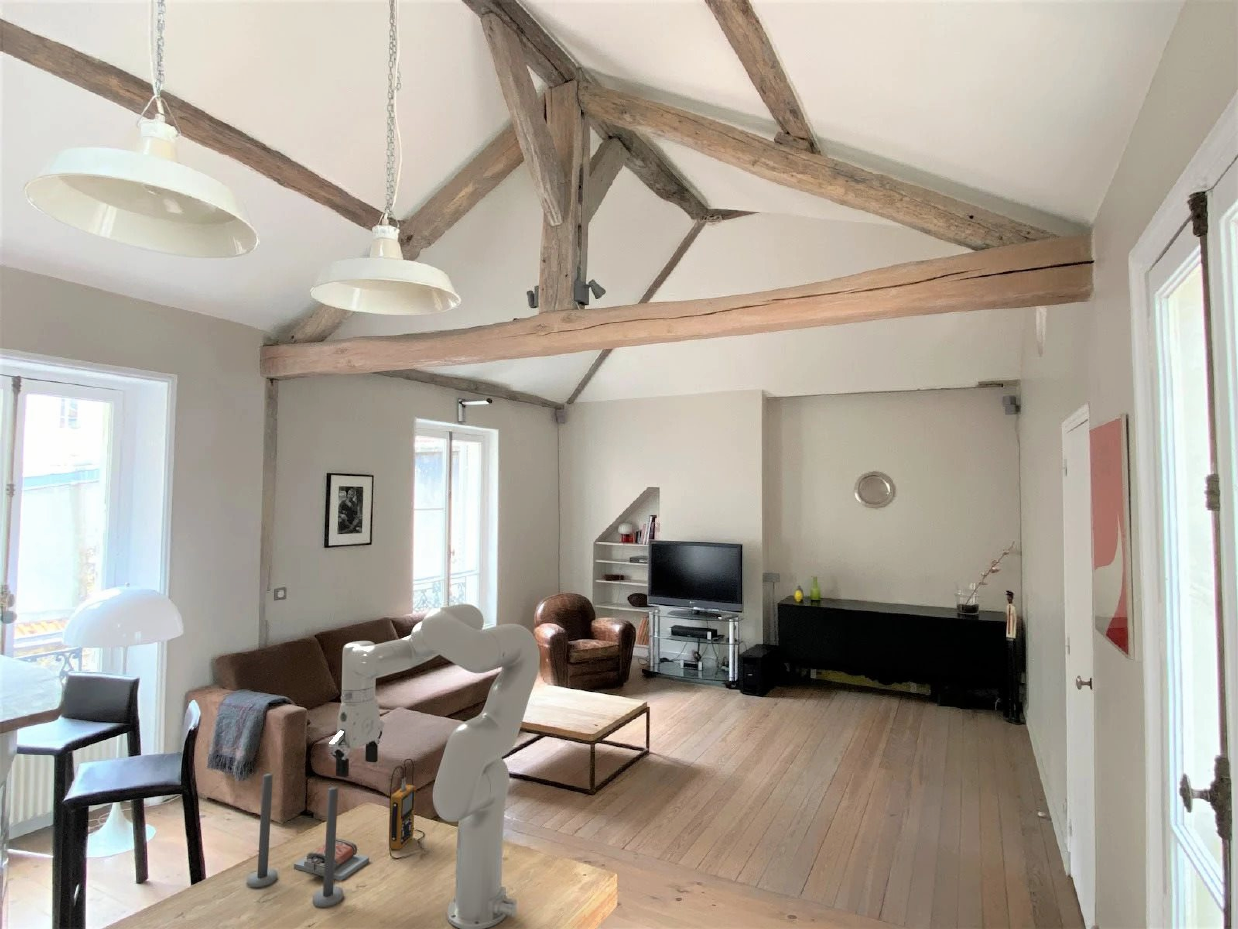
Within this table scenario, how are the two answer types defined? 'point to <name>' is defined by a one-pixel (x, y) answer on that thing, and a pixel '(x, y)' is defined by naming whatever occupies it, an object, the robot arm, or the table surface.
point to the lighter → (342, 853)
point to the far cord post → (264, 839)
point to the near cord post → (329, 857)
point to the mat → (342, 869)
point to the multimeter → (402, 815)
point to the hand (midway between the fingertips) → (357, 768)
